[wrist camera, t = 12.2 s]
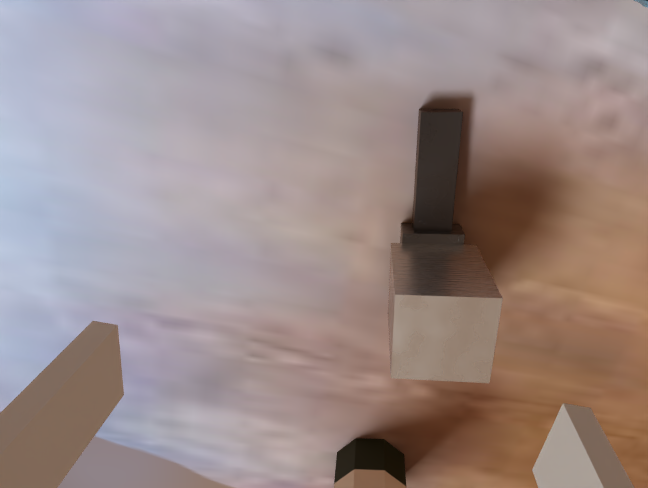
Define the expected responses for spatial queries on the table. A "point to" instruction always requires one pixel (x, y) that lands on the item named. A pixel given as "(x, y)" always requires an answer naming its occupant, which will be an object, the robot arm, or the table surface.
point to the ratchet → (435, 179)
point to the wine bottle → (369, 465)
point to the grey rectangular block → (441, 313)
